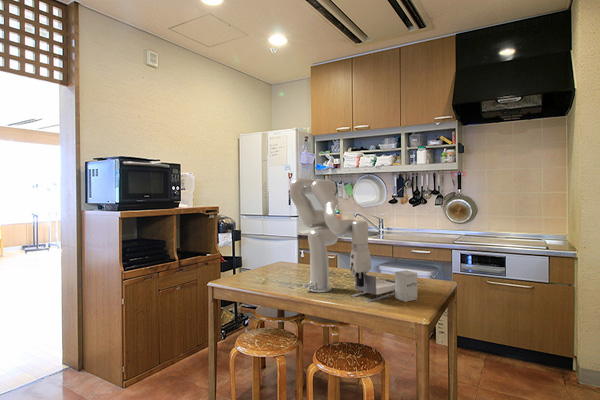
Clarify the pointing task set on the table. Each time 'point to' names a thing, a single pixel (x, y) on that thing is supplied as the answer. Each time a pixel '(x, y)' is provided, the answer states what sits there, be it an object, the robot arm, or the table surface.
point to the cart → (375, 286)
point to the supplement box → (406, 285)
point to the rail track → (377, 297)
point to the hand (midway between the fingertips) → (360, 286)
